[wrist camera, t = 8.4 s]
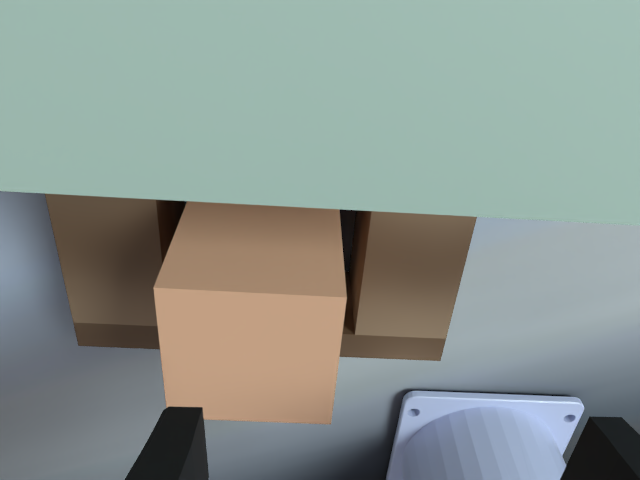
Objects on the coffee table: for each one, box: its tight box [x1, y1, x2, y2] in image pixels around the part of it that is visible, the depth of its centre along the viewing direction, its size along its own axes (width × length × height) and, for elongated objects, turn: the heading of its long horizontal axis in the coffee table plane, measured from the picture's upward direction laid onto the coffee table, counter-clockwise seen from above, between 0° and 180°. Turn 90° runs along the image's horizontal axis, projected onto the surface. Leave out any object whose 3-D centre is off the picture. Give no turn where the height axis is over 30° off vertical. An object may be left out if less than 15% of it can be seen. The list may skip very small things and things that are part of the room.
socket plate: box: [45, 194, 477, 361], centre depth 17 cm, size 12×12×4 cm
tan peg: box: [153, 201, 347, 424], centre depth 16 cm, size 4×4×8 cm
